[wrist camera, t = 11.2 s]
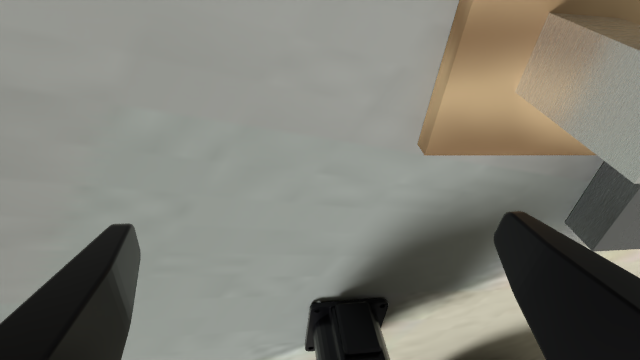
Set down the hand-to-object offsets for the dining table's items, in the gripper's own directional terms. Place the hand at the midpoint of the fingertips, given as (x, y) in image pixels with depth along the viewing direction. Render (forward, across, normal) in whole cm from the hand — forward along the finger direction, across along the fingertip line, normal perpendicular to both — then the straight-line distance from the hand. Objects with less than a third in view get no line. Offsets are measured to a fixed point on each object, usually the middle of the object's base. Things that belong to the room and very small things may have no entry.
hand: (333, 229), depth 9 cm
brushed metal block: (+11, -14, -1) cm, 18 cm away
